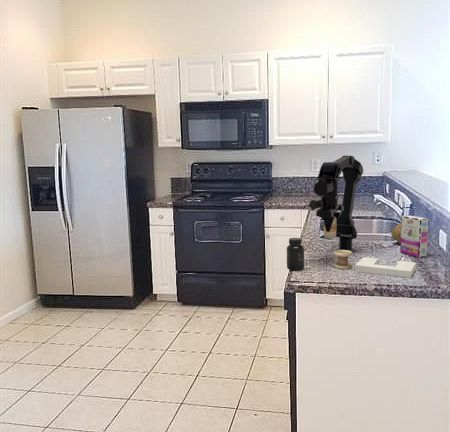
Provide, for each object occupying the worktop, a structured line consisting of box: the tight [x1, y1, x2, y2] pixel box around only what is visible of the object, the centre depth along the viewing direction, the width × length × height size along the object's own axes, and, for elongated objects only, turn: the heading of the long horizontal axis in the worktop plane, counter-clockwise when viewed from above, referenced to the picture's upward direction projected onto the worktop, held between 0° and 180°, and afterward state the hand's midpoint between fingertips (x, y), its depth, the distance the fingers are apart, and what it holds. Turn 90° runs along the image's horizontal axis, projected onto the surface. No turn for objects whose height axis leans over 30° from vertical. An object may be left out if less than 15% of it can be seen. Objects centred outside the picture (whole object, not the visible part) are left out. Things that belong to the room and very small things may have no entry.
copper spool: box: [323, 217, 337, 239], centre depth 198 cm, size 5×5×8 cm
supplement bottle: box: [286, 237, 305, 271], centre depth 188 cm, size 7×7×12 cm
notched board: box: [354, 257, 417, 279], centre depth 184 cm, size 13×20×2 cm, turn 61°
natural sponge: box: [391, 223, 401, 245], centre depth 224 cm, size 9×9×10 cm
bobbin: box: [333, 249, 353, 270], centre depth 190 cm, size 7×7×6 cm
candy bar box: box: [399, 214, 430, 259], centre depth 205 cm, size 11×5×16 cm, turn 23°
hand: (330, 230), depth 199 cm, fingers closed on copper spool, 5 cm apart
